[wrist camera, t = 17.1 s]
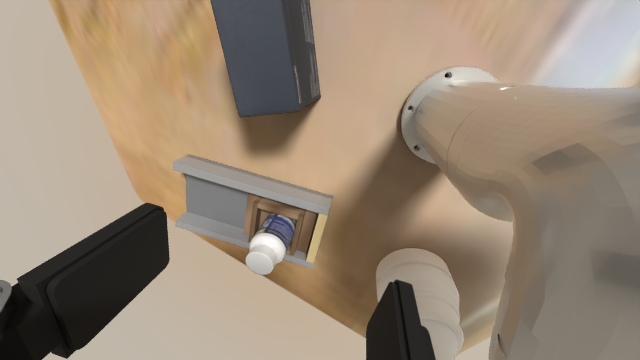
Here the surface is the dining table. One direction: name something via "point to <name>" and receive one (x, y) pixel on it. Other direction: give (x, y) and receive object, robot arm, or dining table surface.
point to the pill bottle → (270, 243)
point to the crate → (264, 206)
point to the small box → (268, 54)
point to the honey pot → (427, 295)
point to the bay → (241, 203)
